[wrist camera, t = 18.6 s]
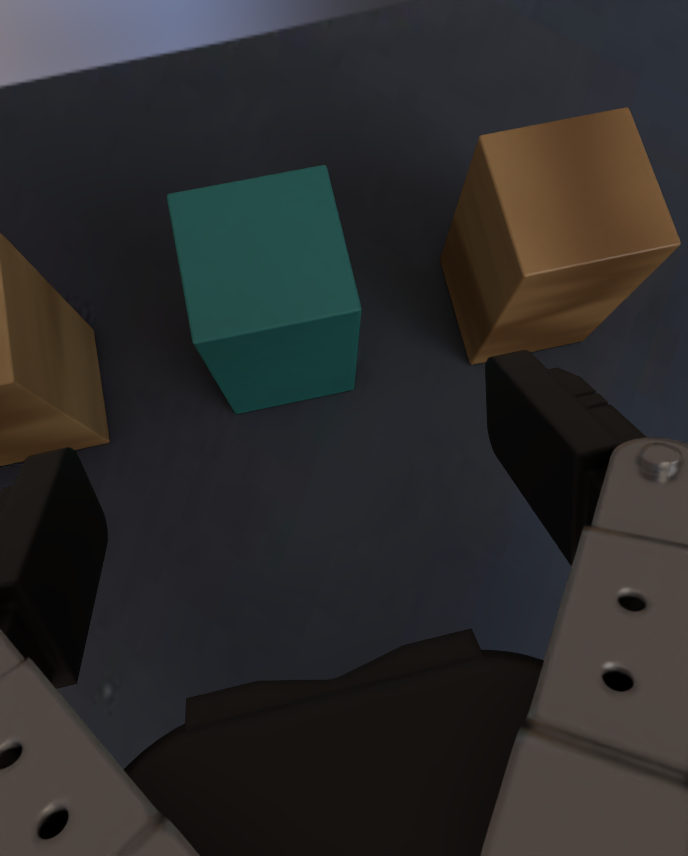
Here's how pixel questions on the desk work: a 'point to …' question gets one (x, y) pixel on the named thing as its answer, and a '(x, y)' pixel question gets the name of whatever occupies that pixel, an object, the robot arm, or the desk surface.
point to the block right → (553, 233)
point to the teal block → (269, 287)
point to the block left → (44, 367)
